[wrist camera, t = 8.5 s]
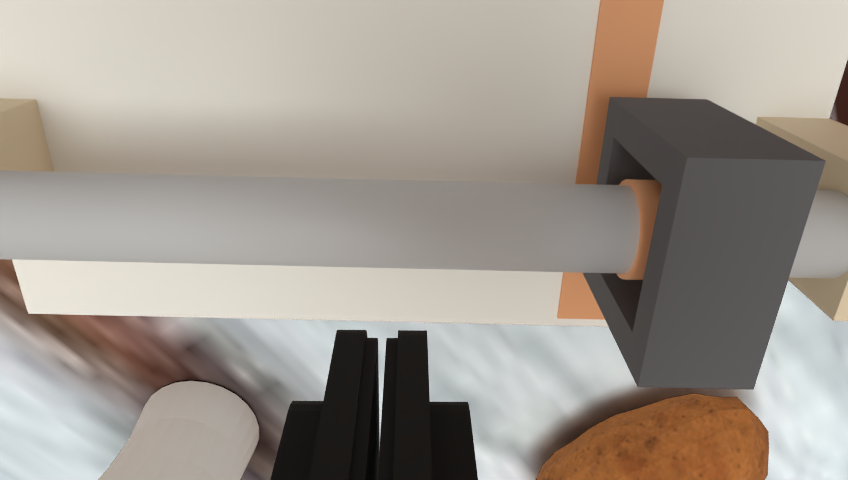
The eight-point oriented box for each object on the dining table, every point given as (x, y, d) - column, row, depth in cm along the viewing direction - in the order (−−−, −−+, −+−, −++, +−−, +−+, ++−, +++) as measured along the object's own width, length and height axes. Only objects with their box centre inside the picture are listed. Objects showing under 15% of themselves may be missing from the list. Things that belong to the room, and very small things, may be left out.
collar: (609, 97, 22) (687, 157, 16) (707, 99, 22) (826, 161, 16) (582, 273, 26) (637, 386, 19) (668, 275, 26) (753, 389, 19)
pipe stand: (-58, -50, 24) (-317, -52, 16) (853, -27, 24) (1079, -17, 16) (42, 300, 31) (-102, 429, 22) (751, 317, 31) (871, 450, 23)
